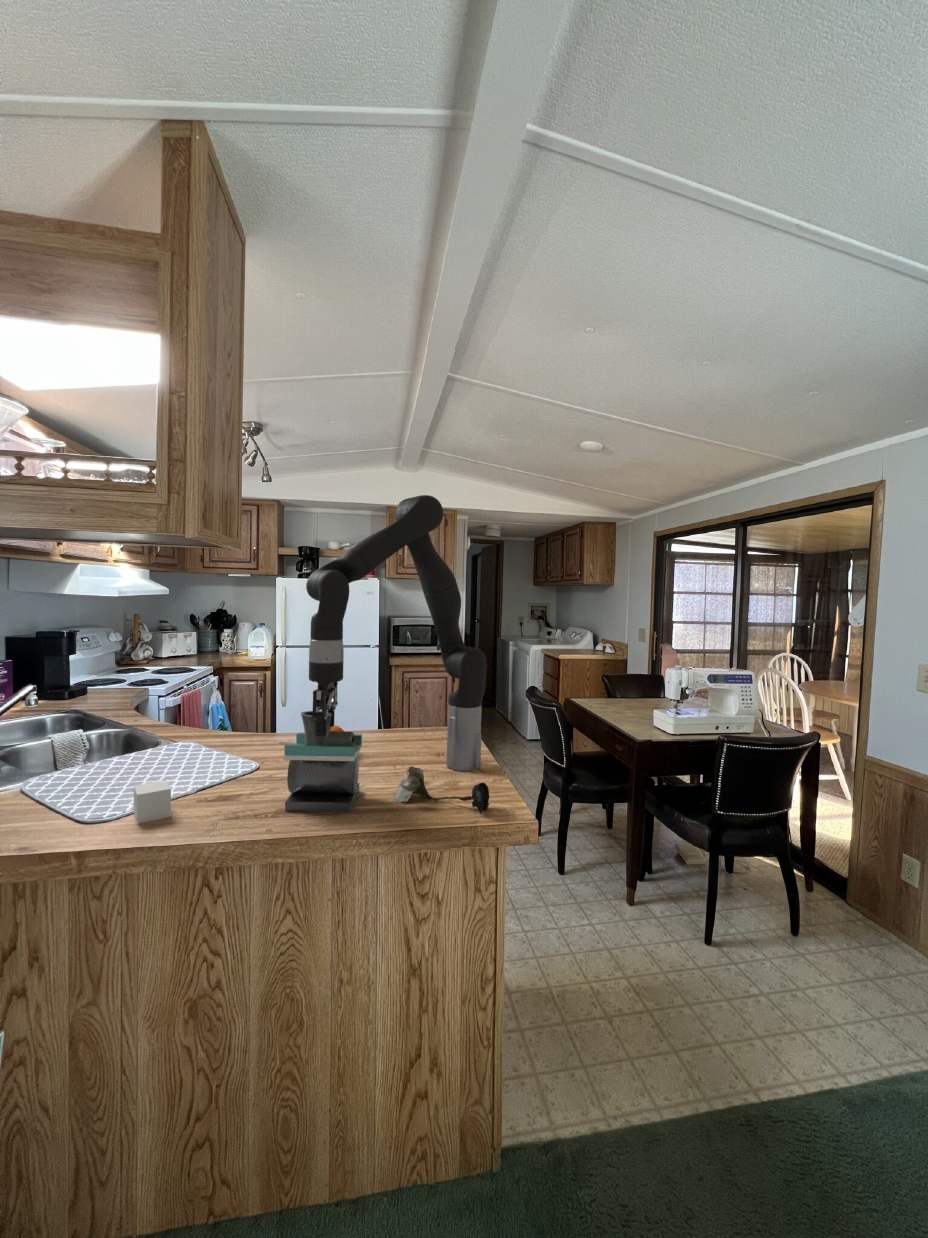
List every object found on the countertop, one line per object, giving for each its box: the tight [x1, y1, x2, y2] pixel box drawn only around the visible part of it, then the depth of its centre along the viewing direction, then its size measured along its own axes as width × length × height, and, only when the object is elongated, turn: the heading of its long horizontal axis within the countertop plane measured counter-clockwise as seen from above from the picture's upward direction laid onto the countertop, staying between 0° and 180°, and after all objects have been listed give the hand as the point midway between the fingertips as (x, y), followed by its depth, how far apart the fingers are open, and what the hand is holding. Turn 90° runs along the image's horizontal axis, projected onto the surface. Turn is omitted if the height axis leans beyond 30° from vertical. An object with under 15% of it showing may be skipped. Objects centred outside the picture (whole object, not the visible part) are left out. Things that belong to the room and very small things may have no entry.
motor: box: [283, 732, 363, 813], centre depth 121 cm, size 15×12×14 cm
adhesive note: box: [133, 779, 172, 825], centre depth 111 cm, size 6×6×6 cm
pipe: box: [300, 710, 356, 746], centre depth 121 cm, size 6×13×8 cm, turn 80°
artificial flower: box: [392, 766, 490, 814], centre depth 122 cm, size 9×22×10 cm, turn 64°
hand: (325, 731), depth 121 cm, fingers open, 8 cm apart
